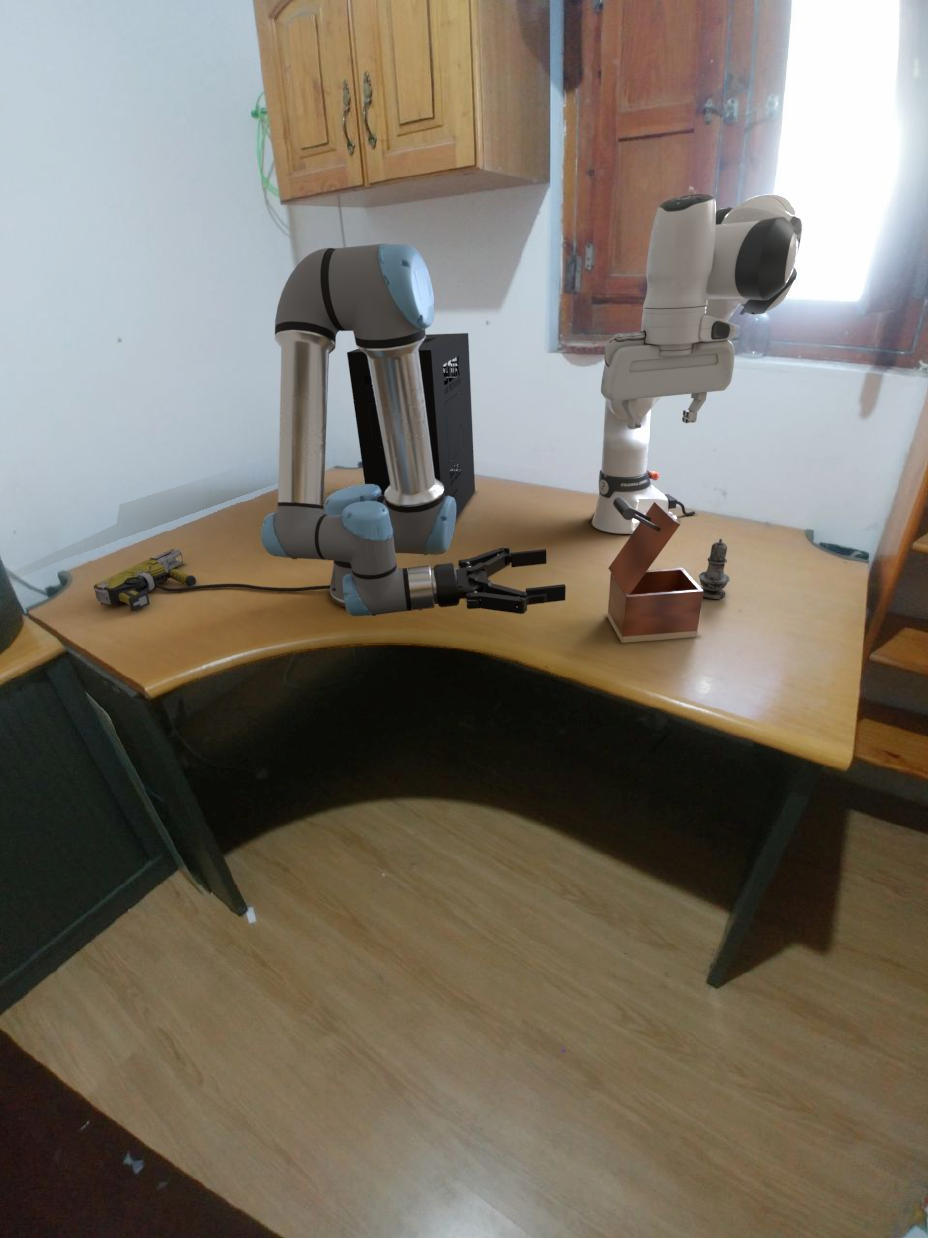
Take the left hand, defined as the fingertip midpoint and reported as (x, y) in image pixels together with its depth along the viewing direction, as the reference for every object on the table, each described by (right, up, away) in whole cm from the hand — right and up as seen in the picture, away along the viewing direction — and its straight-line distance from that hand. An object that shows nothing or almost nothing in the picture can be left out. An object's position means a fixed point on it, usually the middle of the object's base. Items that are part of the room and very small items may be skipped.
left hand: (555, 573), depth 106 cm
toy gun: (-86, -1, +34) cm, 93 cm away
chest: (+19, -9, +8) cm, 23 cm away
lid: (+16, +4, 0) cm, 16 cm away
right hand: (+15, +23, -10) cm, 29 cm away
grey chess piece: (+35, -3, +18) cm, 40 cm away
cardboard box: (-27, +23, +70) cm, 78 cm away
